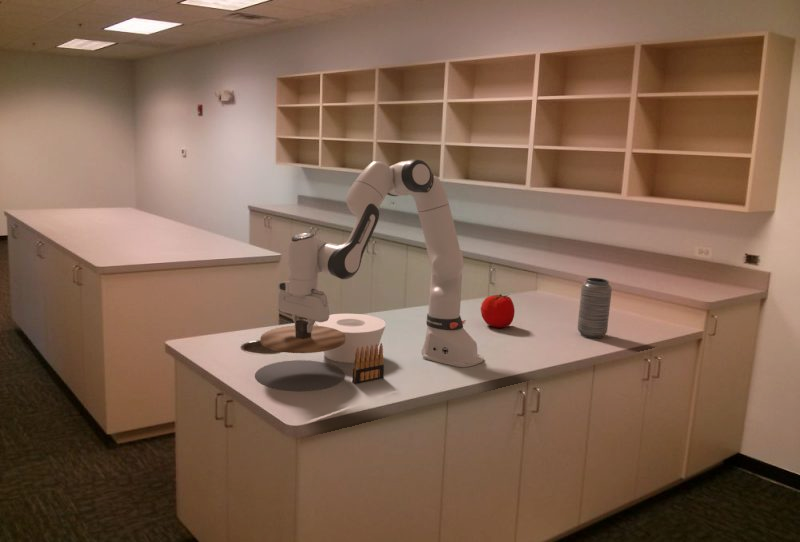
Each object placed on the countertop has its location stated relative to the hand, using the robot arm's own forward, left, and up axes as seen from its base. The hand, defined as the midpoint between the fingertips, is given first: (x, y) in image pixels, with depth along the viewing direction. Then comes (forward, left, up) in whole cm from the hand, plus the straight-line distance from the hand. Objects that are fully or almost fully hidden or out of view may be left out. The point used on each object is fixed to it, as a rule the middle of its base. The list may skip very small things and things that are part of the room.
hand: (303, 330), depth 211 cm
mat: (+1, 0, -15) cm, 15 cm away
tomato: (-4, -100, -15) cm, 101 cm away
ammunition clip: (-16, -13, -15) cm, 26 cm away
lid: (0, 0, -3) cm, 3 cm away
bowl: (+6, -26, -15) cm, 31 cm away
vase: (-37, -120, -15) cm, 126 cm away
